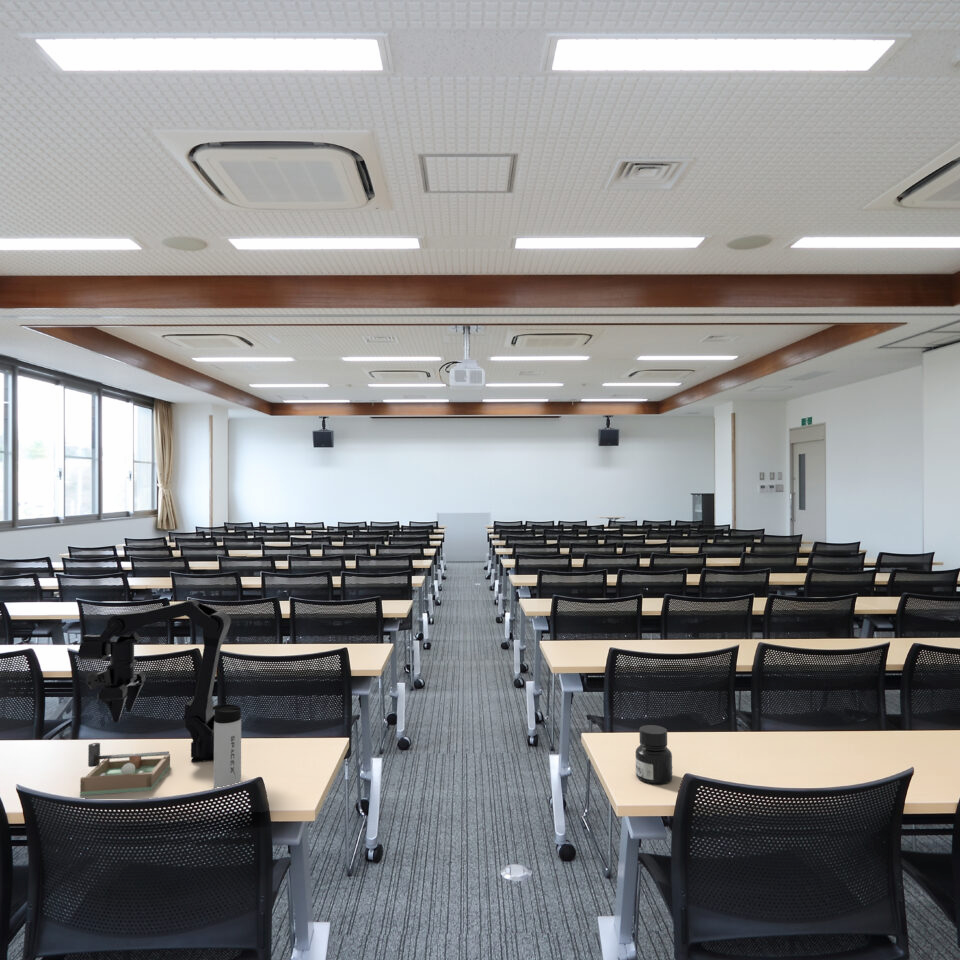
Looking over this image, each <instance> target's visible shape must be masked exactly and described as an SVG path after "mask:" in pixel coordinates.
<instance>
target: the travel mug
mask: <svg viewBox="0 0 960 960" xmlns="http://www.w3.org/2000/svg"><path fill="white" fill-rule="evenodd" d="M213 710H214V717H215V718H214V761H213V789H214V788H217V787H223V786H227V785H232V784H235V783H239V782H241V783H242V709H241V706H239V705H236V704H214V707H213Z"/></svg>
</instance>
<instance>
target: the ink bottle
mask: <svg viewBox="0 0 960 960" xmlns="http://www.w3.org/2000/svg"><path fill="white" fill-rule="evenodd" d="M638 734H639V744H640V745H639V746H637V747H636V749H635V776H636V778H637V779H638V780H639V781H641V782H644V783H646V784H650V785H651V784H652V785H664V784H668V783H671V781H672V780H673V754H672V751H671V750H670V749H669V748H668V729H667V728H665V727H664V726H663V727H662V726H660V725H654V724H648V725H642V726H640V727H639V733H638Z"/></svg>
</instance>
